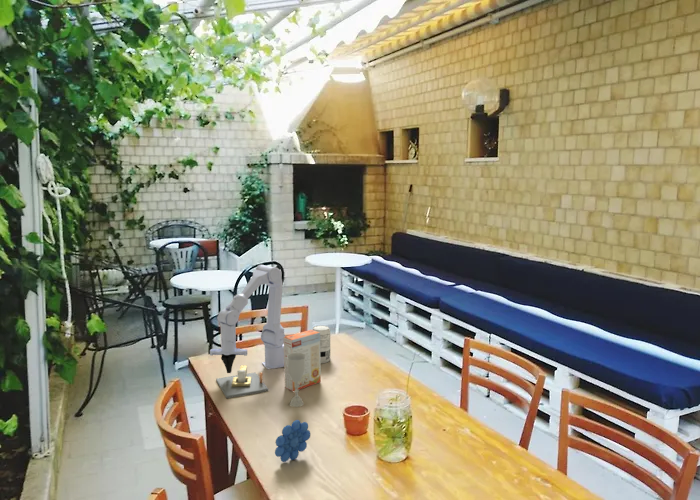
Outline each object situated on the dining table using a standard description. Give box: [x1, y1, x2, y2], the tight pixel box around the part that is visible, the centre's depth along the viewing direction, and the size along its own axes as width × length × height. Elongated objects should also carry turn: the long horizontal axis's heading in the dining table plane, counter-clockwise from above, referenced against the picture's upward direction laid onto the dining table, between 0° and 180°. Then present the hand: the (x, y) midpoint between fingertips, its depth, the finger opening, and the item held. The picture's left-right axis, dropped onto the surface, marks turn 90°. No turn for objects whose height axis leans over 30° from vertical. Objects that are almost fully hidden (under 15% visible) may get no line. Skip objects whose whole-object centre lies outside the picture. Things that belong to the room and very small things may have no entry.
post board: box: [215, 370, 269, 399], centre depth 213 cm, size 16×18×6 cm
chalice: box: [287, 353, 306, 408], centre depth 196 cm, size 7×7×18 cm
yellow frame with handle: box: [232, 364, 252, 387], centre depth 215 cm, size 12×7×4 cm, turn 6°
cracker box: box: [283, 329, 322, 393], centre depth 213 cm, size 14×6×21 cm, turn 133°
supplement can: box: [312, 325, 331, 364], centre depth 240 cm, size 8×8×15 cm
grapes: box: [274, 419, 311, 463], centre depth 160 cm, size 12×7×12 cm, turn 124°
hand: (229, 372), depth 217 cm, fingers closed
